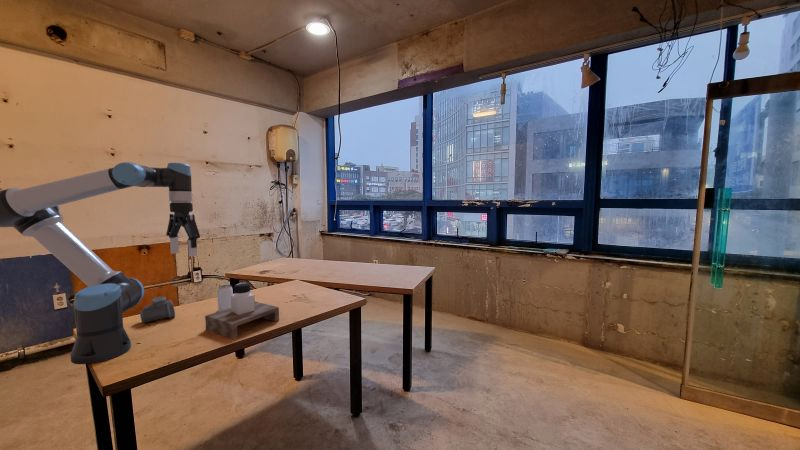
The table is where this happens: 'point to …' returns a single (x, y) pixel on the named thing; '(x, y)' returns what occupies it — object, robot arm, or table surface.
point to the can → (224, 297)
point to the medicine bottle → (242, 299)
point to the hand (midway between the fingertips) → (183, 254)
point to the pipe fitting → (157, 310)
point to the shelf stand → (238, 319)
